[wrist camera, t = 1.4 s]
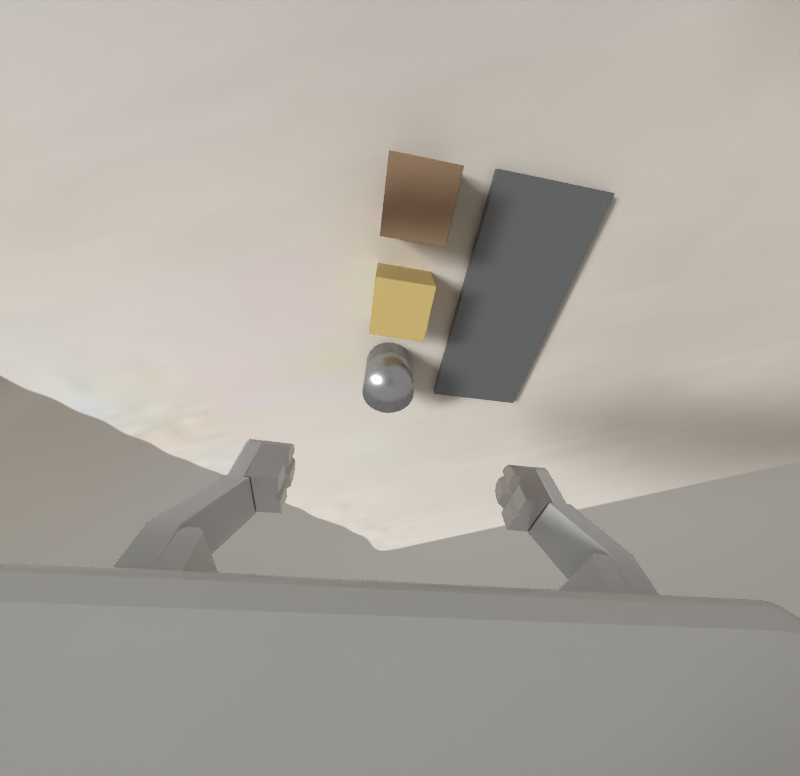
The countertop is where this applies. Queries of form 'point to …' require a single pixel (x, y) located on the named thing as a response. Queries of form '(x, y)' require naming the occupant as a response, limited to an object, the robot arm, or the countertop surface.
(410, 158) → the walnut block
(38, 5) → the countertop surface
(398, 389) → the metal canister
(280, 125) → the countertop surface
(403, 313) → the mustard block
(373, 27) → the countertop surface
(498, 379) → the rubber mat
